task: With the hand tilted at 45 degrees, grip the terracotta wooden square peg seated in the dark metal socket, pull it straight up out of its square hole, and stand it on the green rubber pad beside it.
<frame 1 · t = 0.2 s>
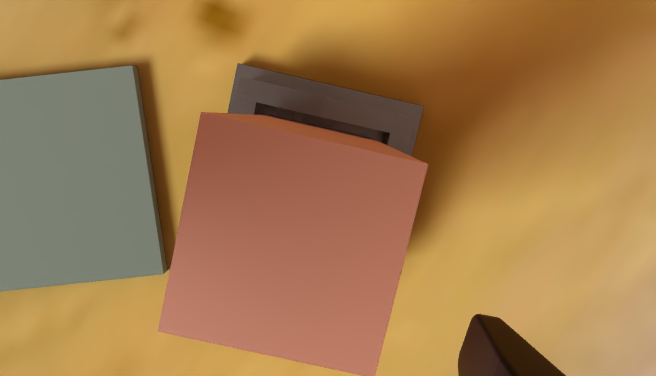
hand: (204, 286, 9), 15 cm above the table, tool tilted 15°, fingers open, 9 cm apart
terracotta peg: (310, 177, 24), point 1 cm above the table, touching metal socket
green pad: (51, 181, 24), on the table
metal socket: (310, 176, 24), on the table
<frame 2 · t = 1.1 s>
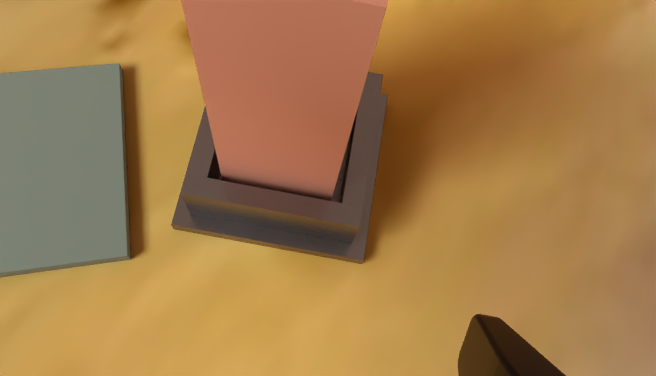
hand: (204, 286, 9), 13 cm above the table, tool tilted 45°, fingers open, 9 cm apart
terracotta peg: (286, 155, 24), point 1 cm above the table, touching metal socket
green pad: (16, 171, 23), on the table
metal socket: (286, 161, 25), on the table
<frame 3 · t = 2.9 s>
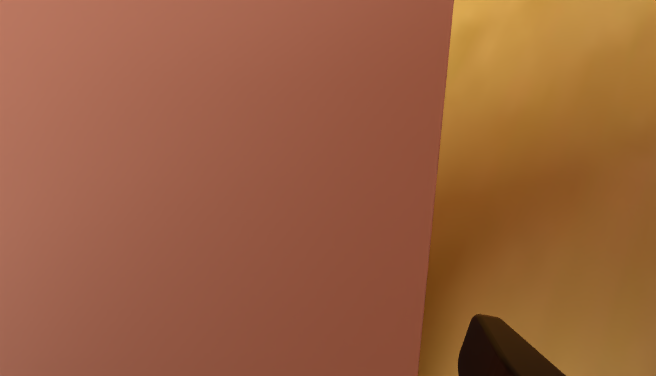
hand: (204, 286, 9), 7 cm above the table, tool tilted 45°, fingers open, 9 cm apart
terracotta peg: (227, 355, 15), point 1 cm above the table, touching metal socket
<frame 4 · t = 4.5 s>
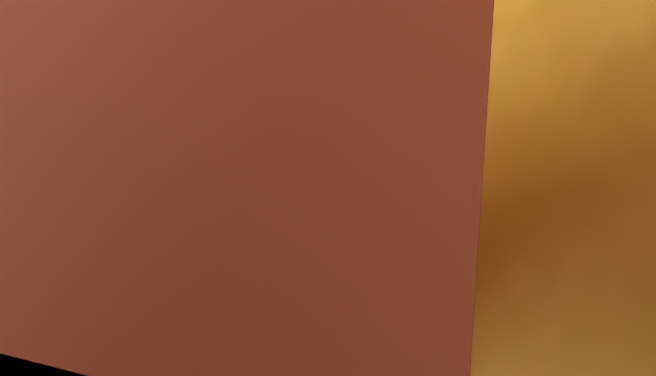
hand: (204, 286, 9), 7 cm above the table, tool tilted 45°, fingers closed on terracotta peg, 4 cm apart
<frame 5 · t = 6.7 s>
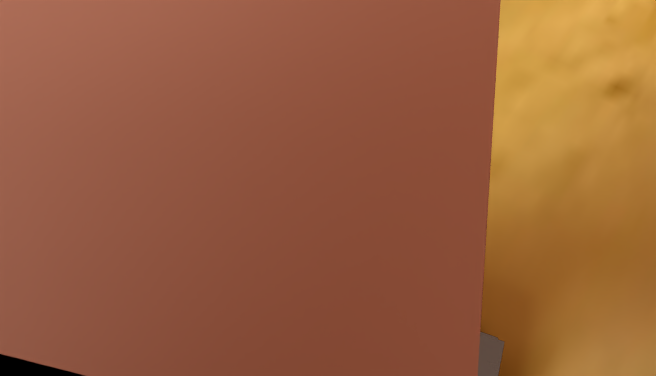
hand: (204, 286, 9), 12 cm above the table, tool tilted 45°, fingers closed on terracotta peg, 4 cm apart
when the fingers open (8 cm above the table, at t = 9.0 s): terracotta peg drops 1 cm, resting on green pad.
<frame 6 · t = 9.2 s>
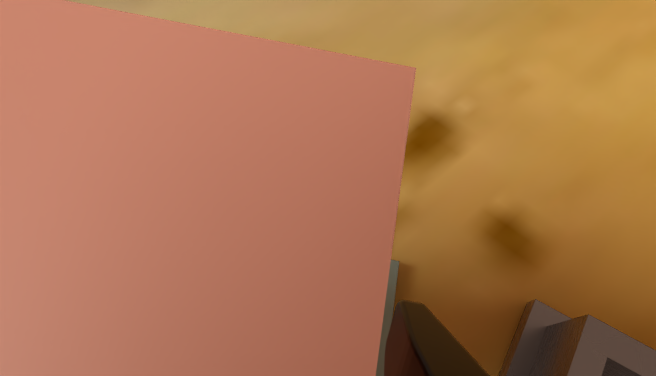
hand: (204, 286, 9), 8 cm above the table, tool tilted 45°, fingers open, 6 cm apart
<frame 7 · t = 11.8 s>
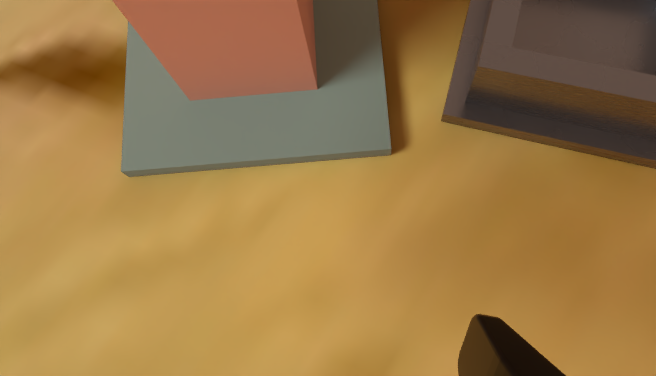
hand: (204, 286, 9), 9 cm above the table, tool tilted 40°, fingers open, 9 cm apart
terracotta peg: (252, 37, 19), point 1 cm above the table, touching green pad
green pad: (254, 47, 20), on the table
metal socket: (582, 41, 19), on the table
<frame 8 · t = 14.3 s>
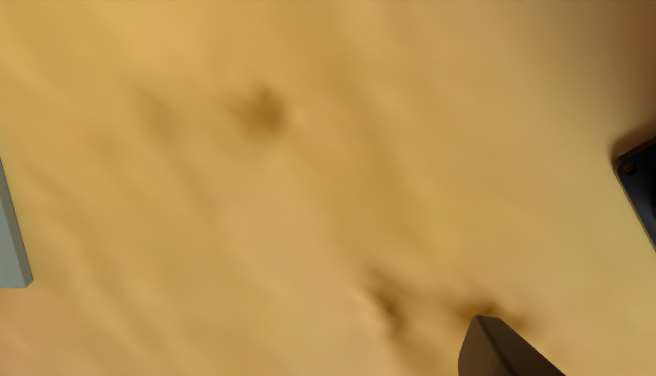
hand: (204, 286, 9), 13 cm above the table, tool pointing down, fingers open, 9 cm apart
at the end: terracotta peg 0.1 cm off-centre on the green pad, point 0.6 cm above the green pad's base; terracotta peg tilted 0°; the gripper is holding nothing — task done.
